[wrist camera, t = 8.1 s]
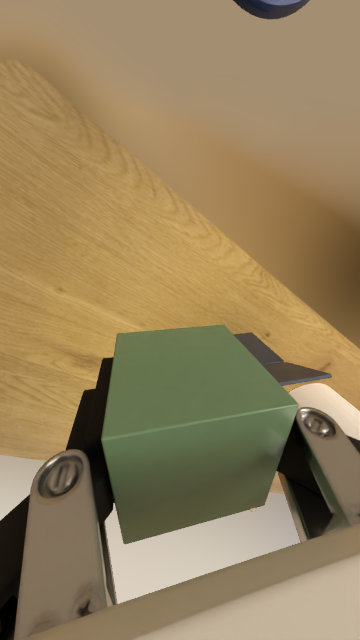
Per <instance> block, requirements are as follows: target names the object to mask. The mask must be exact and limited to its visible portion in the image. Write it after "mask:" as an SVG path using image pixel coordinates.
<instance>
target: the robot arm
mask: <svg viewBox="0 0 360 640" xmlns="http://www.w3.org/2000/svg"><path fill="white" fill-rule="evenodd" d="M113 358H114V357H112V358H103V360H102V364H101V368H100V372H99V376H98V381H97V385H96V389H90V390H85V391H84V392H83V395H82V398H81V401H80V405H79V408H78V411H77V414H76V418H75V421H74V424H73V427H72V431H71V434H70V437H69V441H68V444H67V447H66V450H65V451H62V452H60V453H58V454H56V455H54V456H53V457H52V458H50V459H49V460H48V461H47V462H45V463H44V465H43V466H42V467H41V468H40V469H39V470H38V472H37V474H36V476H35V477H34V479H33V483H32V486H31V491H30V495H29V496H27V497H26V498H25V499H24V500H23V501H22V502H21V503H20V504H19V505H17V506H16V507H15V508H14V509H13V510H12V511H11V512H10V513H8V515H6V516H5V517H4V518H3V519H2V520H1V521H0V640H360V440H357V439H355V438H353V437H350V436H348V435H346V434H345V433H344V432H343V430H342V429H341V428H340V426H339V425H338V424H337V422H336V421H335V420H334V419H333V418H332V417H330V416H329V415H328V414H326V413H324V412H322V411H321V410H318V409H315V408H311V407H301V408H299V409H298V410H297V413H296V415H295V418H294V421H293V424H292V427H291V430H290V433H289V436H288V438H287V441H286V444H285V447H284V450H283V453H282V456H281V459H280V462H279V464H278V467H277V470H276V471H278V475H279V478H280V481H281V484H282V487H283V490H284V493H285V496H286V499H287V502H288V505H289V508H290V511H291V514H292V517H293V520H294V523H295V526H296V529H297V532H298V536H299V539H300V542H301V543H298V544H295V545H292V546H290V547H286V548H283V549H280V550H277V551H274V552H271V553H268V554H265V555H262V556H259V557H256V558H253V559H250V560H247V561H244V562H241V563H238V564H235V565H232V566H229V567H226V568H223V569H220V570H217V571H214V572H211V573H208V574H205V575H203V576H200V577H196V578H193V579H191V580H188V581H185V582H182V583H179V584H176V585H173V586H170V587H167V588H164V589H161V590H158V591H155V592H152V593H149V594H146V595H144V596H141V597H138V598H135V599H132V600H129V601H126V602H123V603H120V604H117V598H116V592H115V585H114V579H113V572H112V565H111V560H110V552H109V546H108V539H107V533H106V526H105V520H106V518H107V517H108V516H109V514H110V513H111V512H112V510H113V503H115V501H114V497H113V492H112V487H111V483H110V478H109V473H108V469H107V464H106V460H105V455H104V450H103V446H102V441H101V437H102V430H103V424H104V417H105V411H106V404H107V398H108V391H109V384H110V378H111V371H112V365H113Z"/></svg>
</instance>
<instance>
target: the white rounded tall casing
mask: <svg viewBox="0 0 360 640" xmlns="http://www.w3.org/2000/svg"><path fill="white" fill-rule="evenodd" d="M288 393H289V394H290V395H291V396H292V397H293V398H294V399H295V401H296V402H297V403H298V404H299V407H298V409H299V408H301V407H311V408H315V409H318V410H321V411H322V412H324V413H326V414H328V415H329V416H330V417H332V418H333V419H334V420H335V421H336V422H337V424H338V425H339V426H340V428H341V429H342V430H343V432H344V433H345V434H346V435H348V436H350V437H353V438H355V439H357V440H360V411H358V410H357V409H356V408H355V407H354V406H352V405H351V404H350V403H349V402H347V401H346V400H345V399H344V398H342V397H341V396H340V395H339V394H337V393H336V392H335V391H334V390H333V389H331V388H330V387H329V386H327V385H325V384H321V383H312V384H307V385H303V386H300V387H298V388H295V389H294V390H292V391H290V392H288Z"/></svg>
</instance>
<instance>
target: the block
mask: <svg viewBox="0 0 360 640" xmlns="http://www.w3.org/2000/svg"><path fill="white" fill-rule="evenodd" d="M298 407H299V404H298V403H297V402H296V401H295V399H294V398H293V397H292V396H291V395H290V394H289V393H288V392H287V391H286V390H285V389H284V388H283V387H282V386H281V385H280V384H279V383H278V382H277V380H276V379H275V378H274V377H273V376H272V375H271V374H270V373H269V372H268V371H267V370H266V369H265V368H264V367H263V366H262V365H261V364H260V363H259V361H258V360H257V359H256V358H255V357H254V356H253V355H252V354H251V353H250V352H249V351H248V350H247V349H246V348H245V347H244V346H243V345H242V343H241V342H240V341H239V340H238V339H237V338H236V337H235V336H234V335H233V334H232V333H231V332H230V331H229V330H228V329H227V328H226V327H225V326H224V325H216V326H204V327H192V328H179V329H167V330H155V331H143V332H130V333H118V334H117V338H116V345H115V352H114V358H113V365H112V371H111V378H110V384H109V391H108V398H107V404H106V411H105V417H104V424H103V430H102V437H101V441H102V446H103V450H104V455H105V460H106V464H107V469H108V473H109V478H110V483H111V487H112V492H113V497H114V501H115V506H116V510H117V515H118V520H119V524H120V528H121V533H122V538H123V543H124V544H128V543H132V542H135V541H139V540H142V539H145V538H149V537H153V536H157V535H160V534H163V533H167V532H171V531H174V530H178V529H181V528H185V527H189V526H192V525H196V524H199V523H203V522H207V521H210V520H213V519H217V518H221V517H224V516H228V515H231V514H235V513H239V512H242V511H246V510H249V509H253V508H256V507H260V506H263V505H265V502H266V499H267V496H268V493H269V490H270V487H271V485H272V482H273V479H274V476H275V473H276V470H277V467H278V464H279V462H280V459H281V456H282V453H283V450H284V447H285V444H286V441H287V438H288V436H289V433H290V430H291V427H292V424H293V421H294V418H295V415H296V413H297V410H298Z"/></svg>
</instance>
